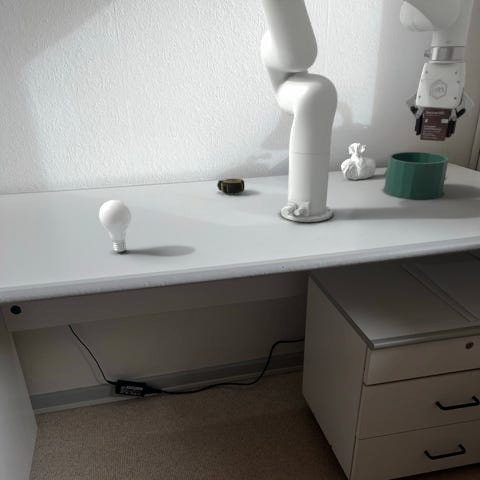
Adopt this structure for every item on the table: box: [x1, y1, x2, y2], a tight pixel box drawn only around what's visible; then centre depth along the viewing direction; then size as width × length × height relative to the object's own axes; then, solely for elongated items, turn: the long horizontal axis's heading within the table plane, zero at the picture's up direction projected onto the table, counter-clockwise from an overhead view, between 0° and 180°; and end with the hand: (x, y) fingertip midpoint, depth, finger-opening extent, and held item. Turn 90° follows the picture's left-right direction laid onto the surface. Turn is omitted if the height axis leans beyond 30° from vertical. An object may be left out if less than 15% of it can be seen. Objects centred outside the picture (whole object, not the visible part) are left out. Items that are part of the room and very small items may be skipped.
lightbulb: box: [98, 199, 132, 254], centre depth 102 cm, size 6×6×11 cm
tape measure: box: [216, 178, 245, 196], centre depth 142 cm, size 7×7×4 cm
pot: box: [384, 151, 450, 200], centre depth 139 cm, size 16×16×10 cm
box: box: [419, 108, 451, 142], centre depth 124 cm, size 6×6×7 cm
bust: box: [340, 142, 377, 181], centre depth 154 cm, size 12×8×11 cm
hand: (433, 135), depth 125 cm, fingers closed on box, 6 cm apart
